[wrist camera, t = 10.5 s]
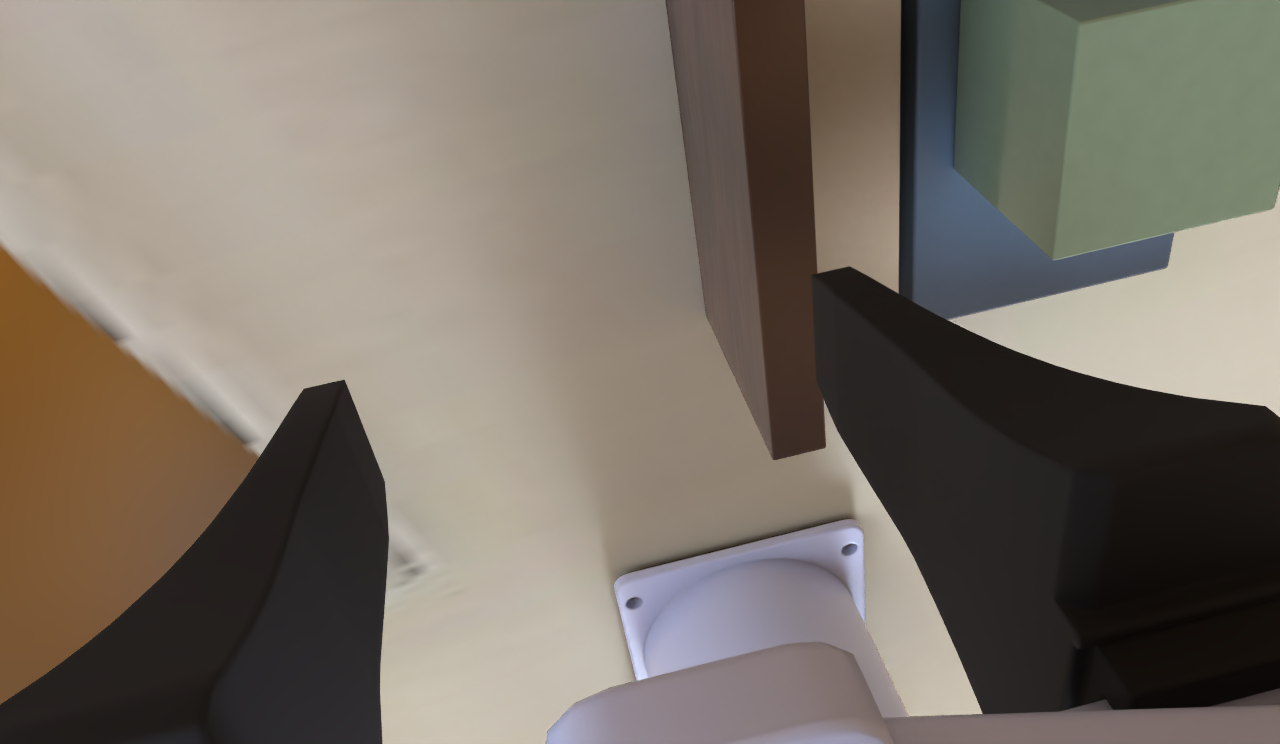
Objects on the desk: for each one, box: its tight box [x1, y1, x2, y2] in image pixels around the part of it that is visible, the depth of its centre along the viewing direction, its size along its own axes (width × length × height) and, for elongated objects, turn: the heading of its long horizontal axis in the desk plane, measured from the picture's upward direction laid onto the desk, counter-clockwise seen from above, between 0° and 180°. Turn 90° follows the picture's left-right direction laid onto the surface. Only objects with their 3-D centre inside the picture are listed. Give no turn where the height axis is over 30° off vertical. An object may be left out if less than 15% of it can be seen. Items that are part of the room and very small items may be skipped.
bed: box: [666, 0, 1174, 460], centre depth 21 cm, size 13×11×6 cm
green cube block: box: [954, 0, 1280, 260], centre depth 19 cm, size 4×4×4 cm
